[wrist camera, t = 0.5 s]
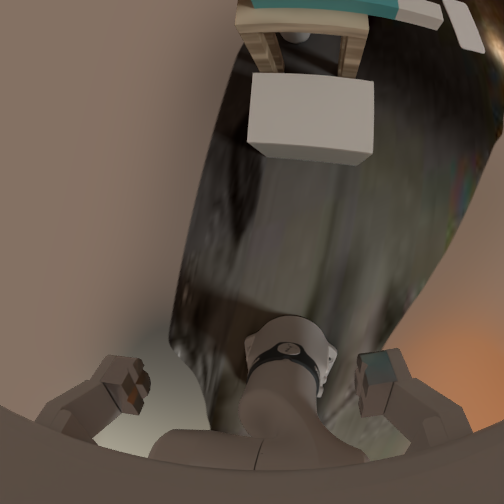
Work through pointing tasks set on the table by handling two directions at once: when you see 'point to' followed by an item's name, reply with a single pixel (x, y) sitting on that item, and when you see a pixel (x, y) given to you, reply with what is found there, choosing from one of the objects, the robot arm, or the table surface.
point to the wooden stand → (303, 21)
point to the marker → (370, 9)
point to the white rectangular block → (312, 117)
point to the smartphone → (464, 26)
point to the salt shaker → (295, 37)
